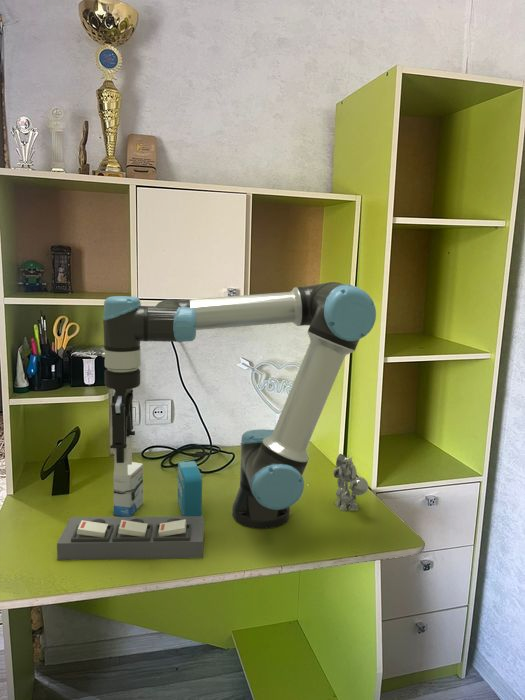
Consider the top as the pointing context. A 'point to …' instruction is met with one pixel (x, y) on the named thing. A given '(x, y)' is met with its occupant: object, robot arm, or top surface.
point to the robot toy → (344, 476)
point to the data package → (189, 489)
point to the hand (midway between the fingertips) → (123, 469)
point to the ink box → (128, 491)
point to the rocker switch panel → (132, 540)
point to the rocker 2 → (172, 528)
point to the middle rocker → (132, 528)
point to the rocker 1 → (92, 528)
